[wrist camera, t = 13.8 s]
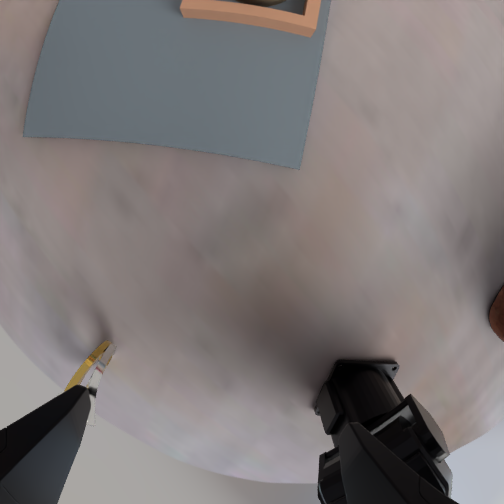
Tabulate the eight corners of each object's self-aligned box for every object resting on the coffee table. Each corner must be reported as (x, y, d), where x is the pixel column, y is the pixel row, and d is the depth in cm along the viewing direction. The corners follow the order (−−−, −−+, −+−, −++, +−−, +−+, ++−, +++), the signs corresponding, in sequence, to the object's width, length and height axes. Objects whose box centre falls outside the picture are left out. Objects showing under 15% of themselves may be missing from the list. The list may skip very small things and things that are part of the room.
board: (334, -42, 14) (343, -58, 12) (296, 169, 19) (304, 170, 17) (92, -53, 12) (82, -66, 10) (30, 137, 17) (10, 137, 15)
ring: (106, 315, 22) (62, 378, 14) (140, 338, 23) (107, 407, 15) (81, 366, 23) (45, 426, 16) (110, 385, 24) (81, 448, 16)
